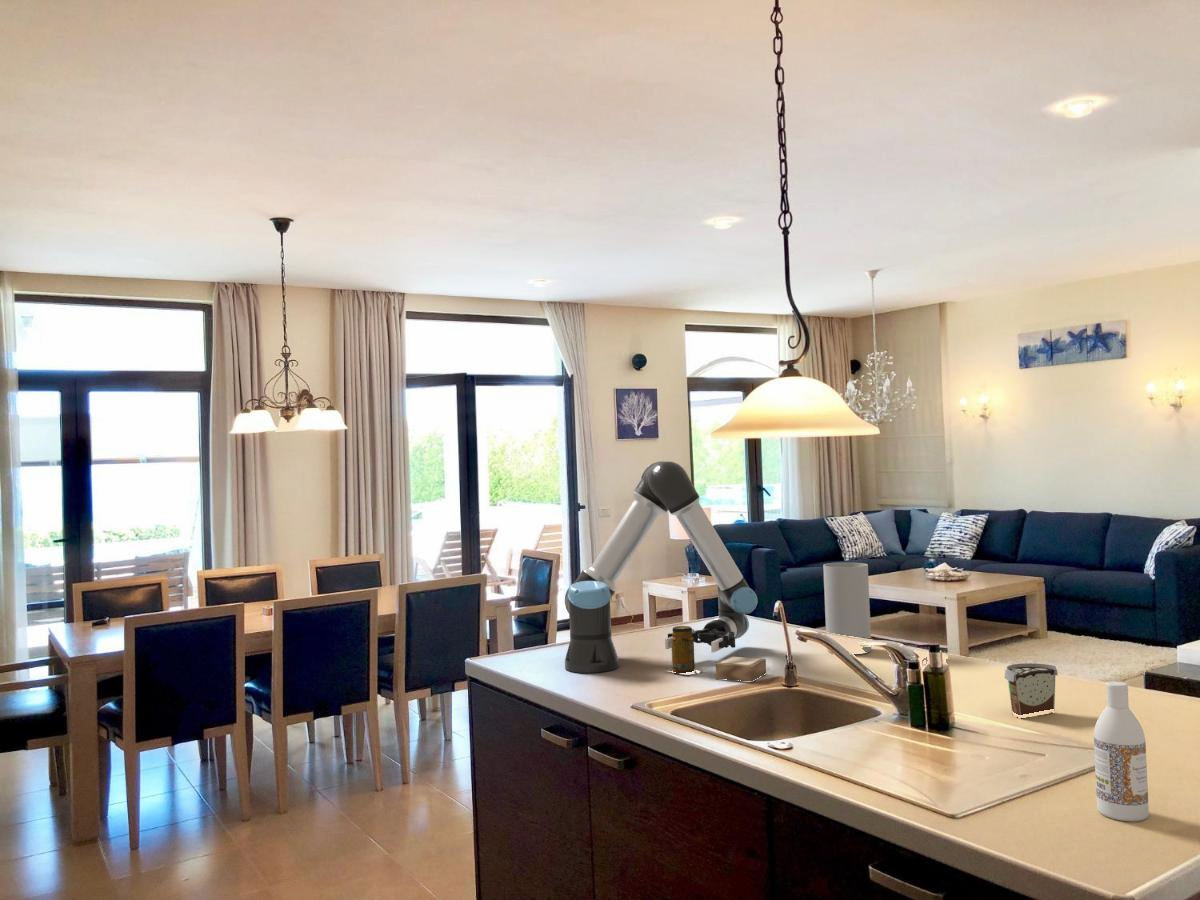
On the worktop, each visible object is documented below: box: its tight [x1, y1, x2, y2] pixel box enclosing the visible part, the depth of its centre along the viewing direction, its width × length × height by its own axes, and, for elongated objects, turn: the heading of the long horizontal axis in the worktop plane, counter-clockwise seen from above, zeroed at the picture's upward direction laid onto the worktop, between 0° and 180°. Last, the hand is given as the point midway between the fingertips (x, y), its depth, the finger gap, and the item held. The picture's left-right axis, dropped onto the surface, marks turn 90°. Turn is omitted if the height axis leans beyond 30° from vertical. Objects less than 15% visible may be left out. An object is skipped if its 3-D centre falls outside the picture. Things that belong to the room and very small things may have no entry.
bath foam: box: [1093, 680, 1150, 822], centre depth 143 cm, size 7×7×20 cm
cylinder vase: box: [822, 562, 872, 654], centre depth 271 cm, size 12×12×25 cm
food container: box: [1003, 662, 1059, 715], centre depth 200 cm, size 12×6×10 cm, turn 111°
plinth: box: [714, 656, 767, 682], centre depth 244 cm, size 10×10×4 cm
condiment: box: [664, 625, 696, 673], centre depth 252 cm, size 7×8×12 cm
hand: (689, 645), depth 253 cm, fingers open, 13 cm apart
